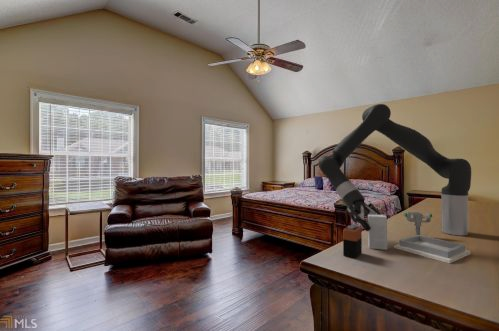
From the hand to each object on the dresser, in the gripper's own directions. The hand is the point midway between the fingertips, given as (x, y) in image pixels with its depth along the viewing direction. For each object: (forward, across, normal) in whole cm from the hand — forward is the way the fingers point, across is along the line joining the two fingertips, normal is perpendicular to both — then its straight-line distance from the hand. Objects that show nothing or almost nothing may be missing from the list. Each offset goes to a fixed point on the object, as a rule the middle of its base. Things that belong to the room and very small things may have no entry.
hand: (376, 228), depth 93 cm
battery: (+5, -14, +5) cm, 16 cm away
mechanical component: (+5, +29, +5) cm, 30 cm away
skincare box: (+5, 0, +5) cm, 7 cm away
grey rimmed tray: (+14, +13, -4) cm, 19 cm away
